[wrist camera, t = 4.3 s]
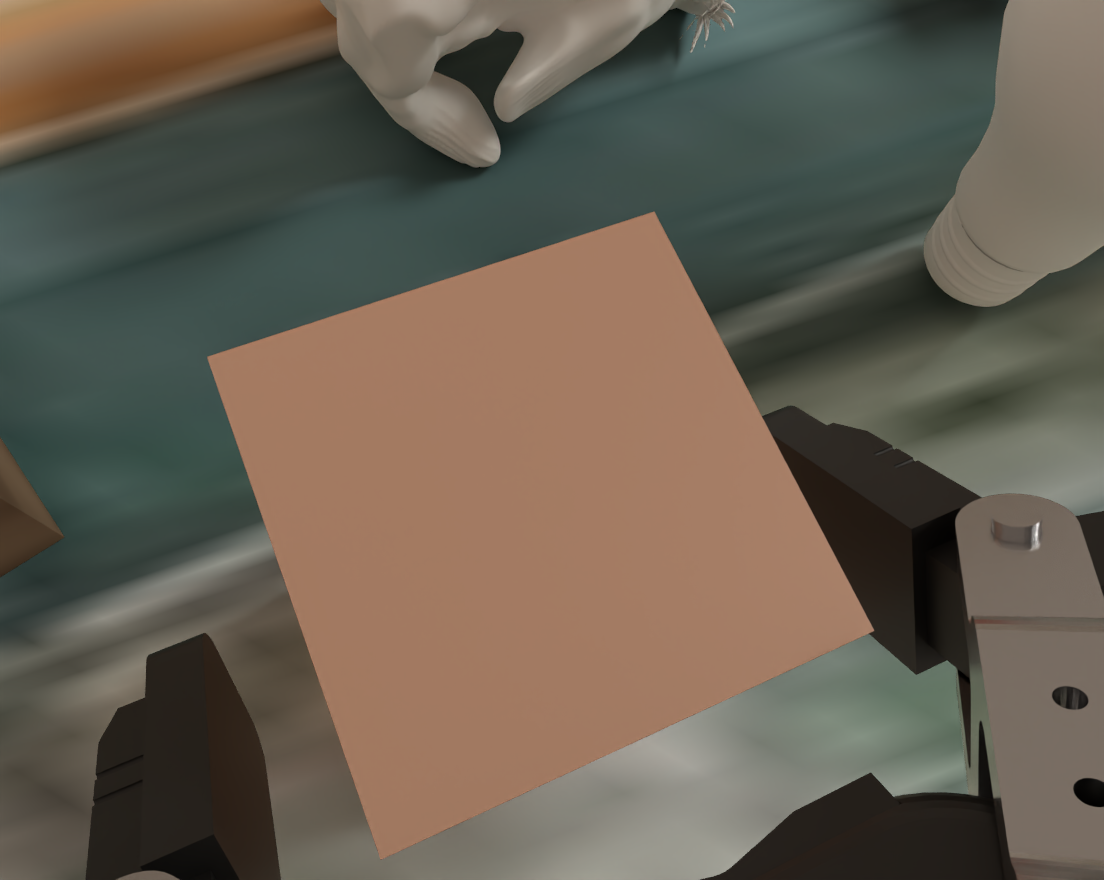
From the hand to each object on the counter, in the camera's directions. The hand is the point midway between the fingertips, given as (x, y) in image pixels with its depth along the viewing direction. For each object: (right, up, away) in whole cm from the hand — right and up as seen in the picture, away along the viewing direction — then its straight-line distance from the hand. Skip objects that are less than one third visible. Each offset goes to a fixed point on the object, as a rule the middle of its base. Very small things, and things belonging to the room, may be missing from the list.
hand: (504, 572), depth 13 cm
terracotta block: (-1, -2, +5) cm, 6 cm away
